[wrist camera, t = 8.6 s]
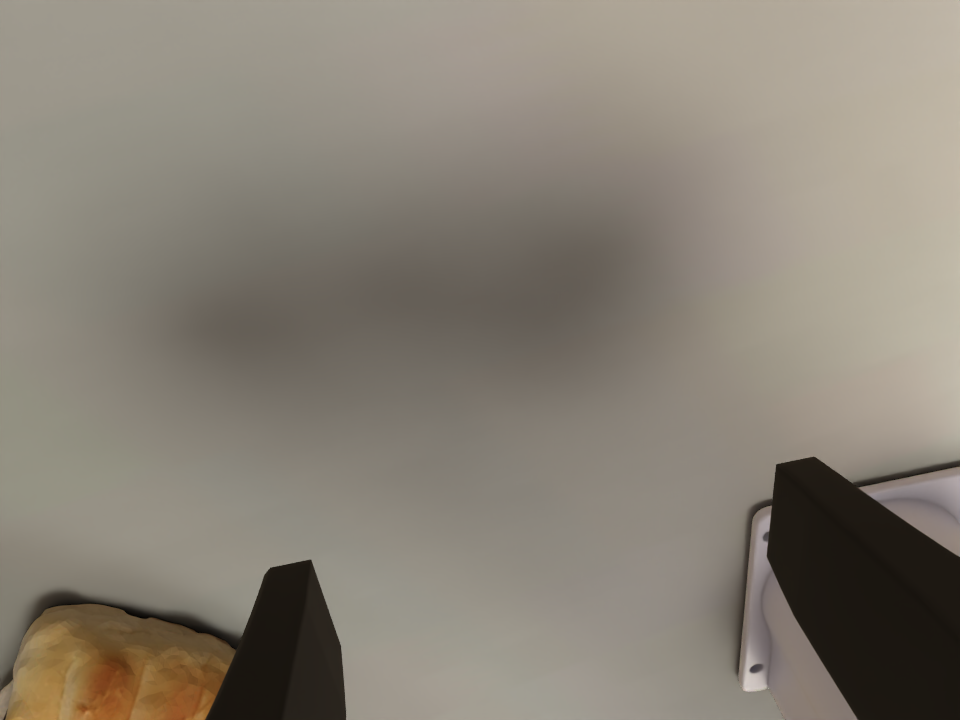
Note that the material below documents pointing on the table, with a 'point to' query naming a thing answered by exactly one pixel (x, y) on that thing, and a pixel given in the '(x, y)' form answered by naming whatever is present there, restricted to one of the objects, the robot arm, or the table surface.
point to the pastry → (113, 668)
